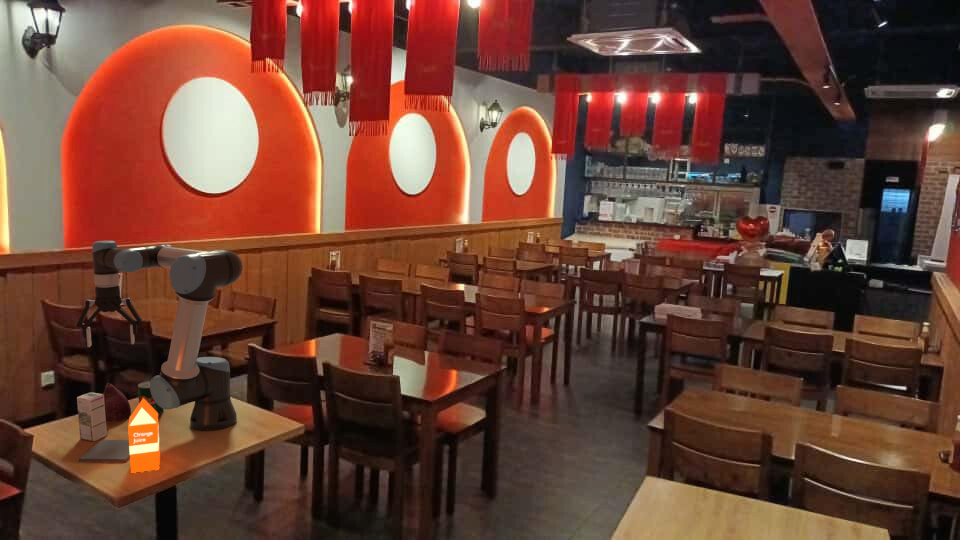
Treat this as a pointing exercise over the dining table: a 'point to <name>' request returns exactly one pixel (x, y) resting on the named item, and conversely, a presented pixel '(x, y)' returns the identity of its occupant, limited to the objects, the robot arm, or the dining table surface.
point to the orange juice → (144, 438)
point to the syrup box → (91, 416)
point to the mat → (108, 452)
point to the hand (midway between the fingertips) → (111, 344)
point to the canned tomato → (148, 396)
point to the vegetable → (115, 404)
